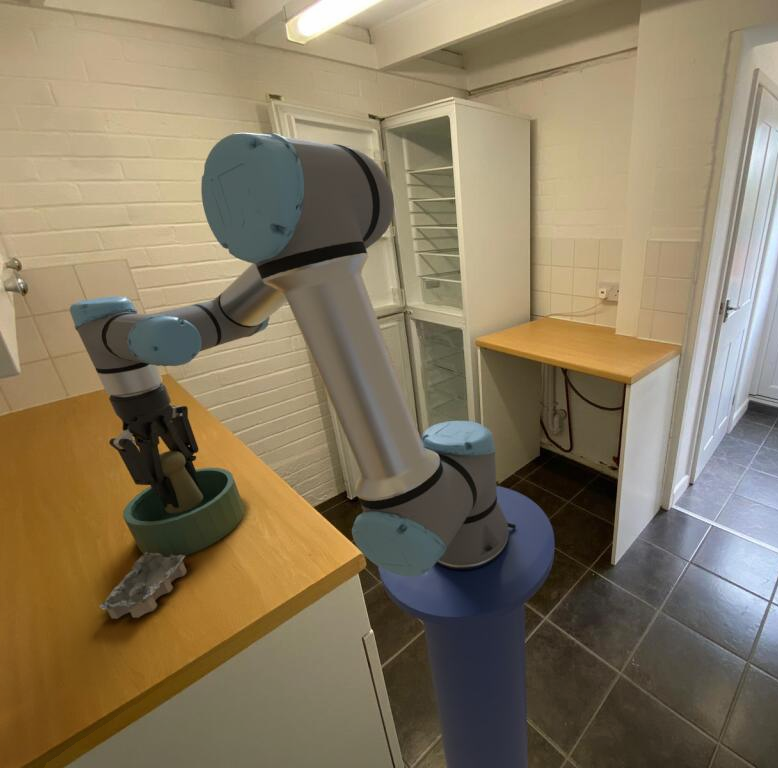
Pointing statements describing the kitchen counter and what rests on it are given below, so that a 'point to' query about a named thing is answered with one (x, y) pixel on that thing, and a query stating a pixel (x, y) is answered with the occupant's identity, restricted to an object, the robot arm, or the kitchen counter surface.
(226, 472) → the green round bowl
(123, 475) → the kitchen counter surface
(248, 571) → the kitchen counter surface
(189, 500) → the cork
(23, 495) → the kitchen counter surface
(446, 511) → the robot arm
